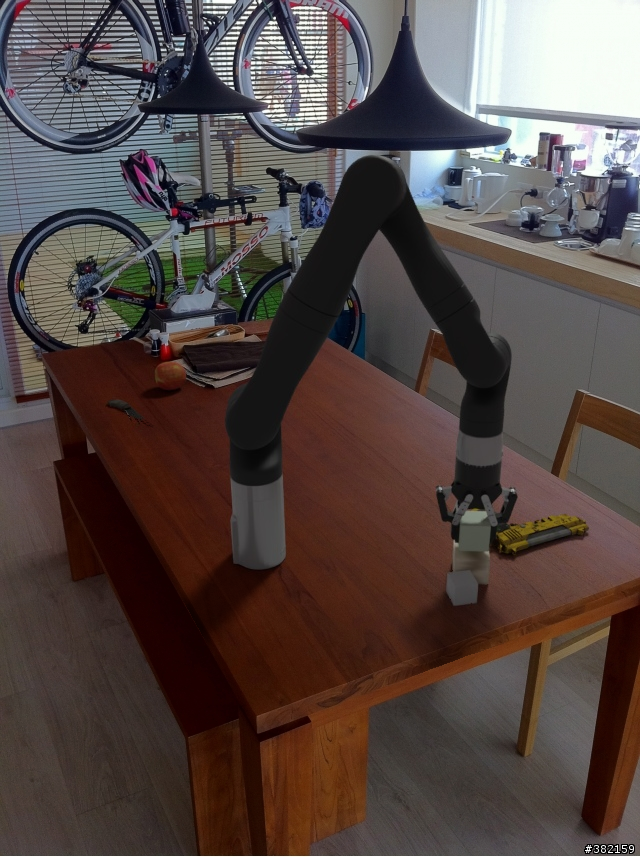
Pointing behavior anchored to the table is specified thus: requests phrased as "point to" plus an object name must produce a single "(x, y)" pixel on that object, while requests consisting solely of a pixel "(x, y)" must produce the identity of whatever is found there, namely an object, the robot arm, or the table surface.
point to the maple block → (472, 563)
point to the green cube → (474, 531)
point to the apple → (170, 375)
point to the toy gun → (535, 532)
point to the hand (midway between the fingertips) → (472, 540)
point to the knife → (124, 408)
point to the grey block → (462, 587)
